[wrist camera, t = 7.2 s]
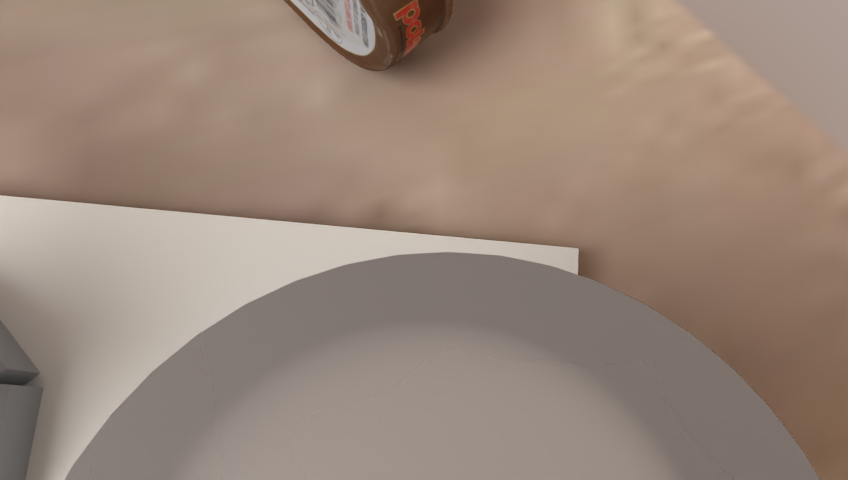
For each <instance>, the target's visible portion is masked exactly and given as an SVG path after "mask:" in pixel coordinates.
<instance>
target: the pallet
mask: <svg viewBox="0 0 848 480" xmlns="http://www.w3.org/2000/svg"><path fill="white" fill-rule="evenodd" d="M578 251H579V248H569V247H558V246H547V245H536V244H525V243H515V242H504V241H493V240H482V239H471V238H460V237H449V236H438V235H427V234H416V233H405V232H394V231H384V230H373V229H362V228H351V227H340V226H329V225H318V224H307V223H296V222H285V221H274V220H263V219H253V218H242V217H231V216H220V215H209V214H198V213H187V212H176V211H165V210H154V209H143V208H132V207H122V206H111V205H100V204H89V203H78V202H67V201H56V200H45V199H34V198H23V197H12V196H2V195H0V480H65V478H66V476H67V474H68V473H69V471H70V469H71V468H72V466H73V464H74V463H75V462H76V460H77V459H78V458H79V456H80V455H81V454H82V452H83V451H84V450H85V448H86V447H87V446H88V444H89V443H90V442H91V440H92V439H93V438H94V436H95V435H96V434H97V432H98V431H99V430H100V428H101V427H102V426H103V424H104V423H105V422H106V420H107V419H108V418H109V416H110V415H111V414H112V413H113V412H114V411H115V410H116V409H117V408H118V407H119V406H120V405H121V404H122V403H123V401H124V400H125V399H126V398H127V397H128V396H129V395H130V394H131V393H132V392H133V391H134V390H135V389H136V388H137V387H138V386H139V385H140V384H141V383H142V382H143V381H144V380H145V379H146V378H147V376H148V375H149V374H150V373H151V372H152V371H153V370H155V369H156V368H157V367H158V366H160V365H161V364H162V363H163V362H164V361H166V360H167V359H168V358H169V357H171V356H172V355H173V354H174V353H175V352H177V351H178V350H179V349H180V348H182V347H183V346H184V345H185V344H186V343H188V342H189V341H190V340H191V339H193V338H194V337H195V336H196V335H197V334H199V333H201V332H202V331H204V330H205V329H207V328H208V327H210V326H212V325H213V324H215V323H216V322H218V321H220V320H221V319H223V318H224V317H226V316H228V315H229V314H231V313H232V312H234V311H235V310H237V309H239V308H240V307H242V306H243V305H245V304H247V303H249V302H251V301H253V300H255V299H258V298H260V297H262V296H264V295H266V294H268V293H270V292H272V291H275V290H277V289H279V288H281V287H283V286H285V285H287V284H290V283H292V282H294V281H296V280H299V279H303V278H306V277H309V276H312V275H315V274H318V273H321V272H324V271H327V270H330V269H333V268H337V267H340V266H343V265H346V264H351V263H356V262H362V261H367V260H372V259H378V258H383V257H388V256H394V255H403V254H420V253H437V252H458V253H472V254H487V255H500V256H505V257H510V258H515V259H520V260H525V261H530V262H535V263H540V264H545V265H550V266H553V267H556V268H559V269H562V270H565V271H568V272H571V273H574V274H577V275H578Z"/></svg>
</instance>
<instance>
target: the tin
mask: <svg viewBox="0 0 848 480" xmlns="http://www.w3.org/2000/svg"><path fill="white" fill-rule="evenodd" d="M284 1H285V2H286V3H287V4H288V5H289V6H290V7H291V8H292V9H293V10H294V11H295V12H296V13H297V14H298V15H299V16H300V17H301V18H302V19H303V20H304V21H305V22H306V23H307V24H308V25H309V26H310V27H311V28H312V29H313V30H314V31H315V32H316V33H317V34H318V35H319V36H320V37H321V38H322V39H323V40H324V41H326V42H327V43H328V44H329V45H330V46H331V47H332V48H333V49H335V50H336V51H337V52H338V53H340V54H341V55H342V56H344V57H345V58H346V59H348V60H349V61H351V62H352V63H354V64H356V65H358V66H360V67H362V68H364V69H368V70H372V71H381V70H385V69H387V68H389V67H391V66H392V65H394V64H395V63H397V62H398V61H399V60H401V59H402V58H403V57H404V56H406V55H407V54H408V53H409V52H410V51H411V50H413V49H414V48H415V47H416V46H417V45H418V44H420V43H421V42H422V41H423V40H424V39H426V38H427V37H428V36H429V35H430V34H433V33H436V32H438V31H440V30H442V29H443V28H444V27H445V26H446V25H447V23H448V21H449V19H450V16H451V13H452V6H453V4H452V0H284Z"/></svg>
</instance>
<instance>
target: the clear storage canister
mask: <svg viewBox="0 0 848 480" xmlns="http://www.w3.org/2000/svg"><path fill="white" fill-rule="evenodd" d="M65 480H820V479H819V477H818V476H817V474H816V472H815V470H814V469H813V467H812V465H811V464H810V462H809V460H808V459H807V457H806V455H805V454H804V452H803V451H802V449H801V448H800V447H799V445H798V444H797V443H796V441H795V440H794V439H793V437H792V436H791V435H790V433H789V432H788V431H787V429H786V428H785V427H784V426H783V424H782V423H781V422H780V420H779V419H778V418H777V416H776V415H775V414H774V412H773V411H772V410H771V408H770V407H769V406H768V405H767V404H766V403H765V402H764V401H763V400H762V399H761V398H760V397H759V396H758V394H757V393H756V392H755V391H754V390H753V389H752V388H751V387H750V386H749V385H748V384H747V383H746V382H745V381H744V380H743V379H742V378H741V377H740V376H739V375H738V373H737V372H736V371H735V370H734V369H733V368H732V367H731V366H729V365H728V364H727V363H726V362H725V361H723V360H722V359H721V358H720V357H719V356H717V355H716V354H715V353H714V352H712V351H711V350H710V349H709V348H708V347H706V346H705V345H704V344H703V343H702V342H700V341H699V340H698V339H697V338H696V337H694V336H693V335H692V334H691V333H689V332H688V331H686V330H685V329H683V328H682V327H680V326H678V325H677V324H675V323H674V322H672V321H671V320H669V319H668V318H666V317H664V316H663V315H661V314H660V313H658V312H657V311H655V310H654V309H652V308H650V307H649V306H647V305H646V304H644V303H642V302H640V301H638V300H635V299H633V298H631V297H629V296H627V295H625V294H623V293H621V292H619V291H617V290H615V289H613V288H611V287H608V286H606V285H604V284H602V283H600V282H598V281H595V280H592V279H589V278H586V277H583V276H580V275H577V274H574V273H571V272H568V271H565V270H562V269H559V268H556V267H553V266H550V265H545V264H540V263H535V262H530V261H525V260H520V259H515V258H510V257H505V256H500V255H487V254H472V253H458V252H437V253H420V254H403V255H394V256H388V257H383V258H378V259H372V260H367V261H362V262H356V263H351V264H346V265H343V266H340V267H337V268H333V269H330V270H327V271H324V272H321V273H318V274H315V275H312V276H309V277H306V278H303V279H299V280H296V281H294V282H292V283H290V284H287V285H285V286H283V287H281V288H279V289H277V290H275V291H272V292H270V293H268V294H266V295H264V296H262V297H260V298H258V299H255V300H253V301H251V302H249V303H247V304H245V305H243V306H242V307H240V308H239V309H237V310H235V311H234V312H232V313H231V314H229V315H228V316H226V317H224V318H223V319H221V320H220V321H218V322H216V323H215V324H213V325H212V326H210V327H208V328H207V329H205V330H204V331H202V332H201V333H199V334H197V335H196V336H195V337H194V338H193V339H191V340H190V341H189V342H188V343H186V344H185V345H184V346H183V347H182V348H180V349H179V350H178V351H177V352H175V353H174V354H173V355H172V356H171V357H169V358H168V359H167V360H166V361H164V362H163V363H162V364H161V365H160V366H158V367H157V368H156V369H155V370H153V371H152V372H151V373H150V374H149V375H148V376H147V378H146V379H145V380H144V381H143V382H142V383H141V384H140V385H139V386H138V387H137V388H136V389H135V390H134V391H133V392H132V393H131V394H130V395H129V396H128V397H127V398H126V399H125V400H124V401H123V403H122V404H121V405H120V406H119V407H118V408H117V409H116V410H115V411H114V412H113V413H112V414H111V415H110V416H109V418H108V419H107V420H106V422H105V423H104V424H103V426H102V427H101V428H100V430H99V431H98V432H97V434H96V435H95V436H94V438H93V439H92V440H91V442H90V443H89V444H88V446H87V447H86V448H85V450H84V451H83V452H82V454H81V455H80V456H79V458H78V459H77V460H76V462H75V463H74V464H73V466H72V468H71V469H70V471H69V473H68V474H67V476H66V478H65Z"/></svg>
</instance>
